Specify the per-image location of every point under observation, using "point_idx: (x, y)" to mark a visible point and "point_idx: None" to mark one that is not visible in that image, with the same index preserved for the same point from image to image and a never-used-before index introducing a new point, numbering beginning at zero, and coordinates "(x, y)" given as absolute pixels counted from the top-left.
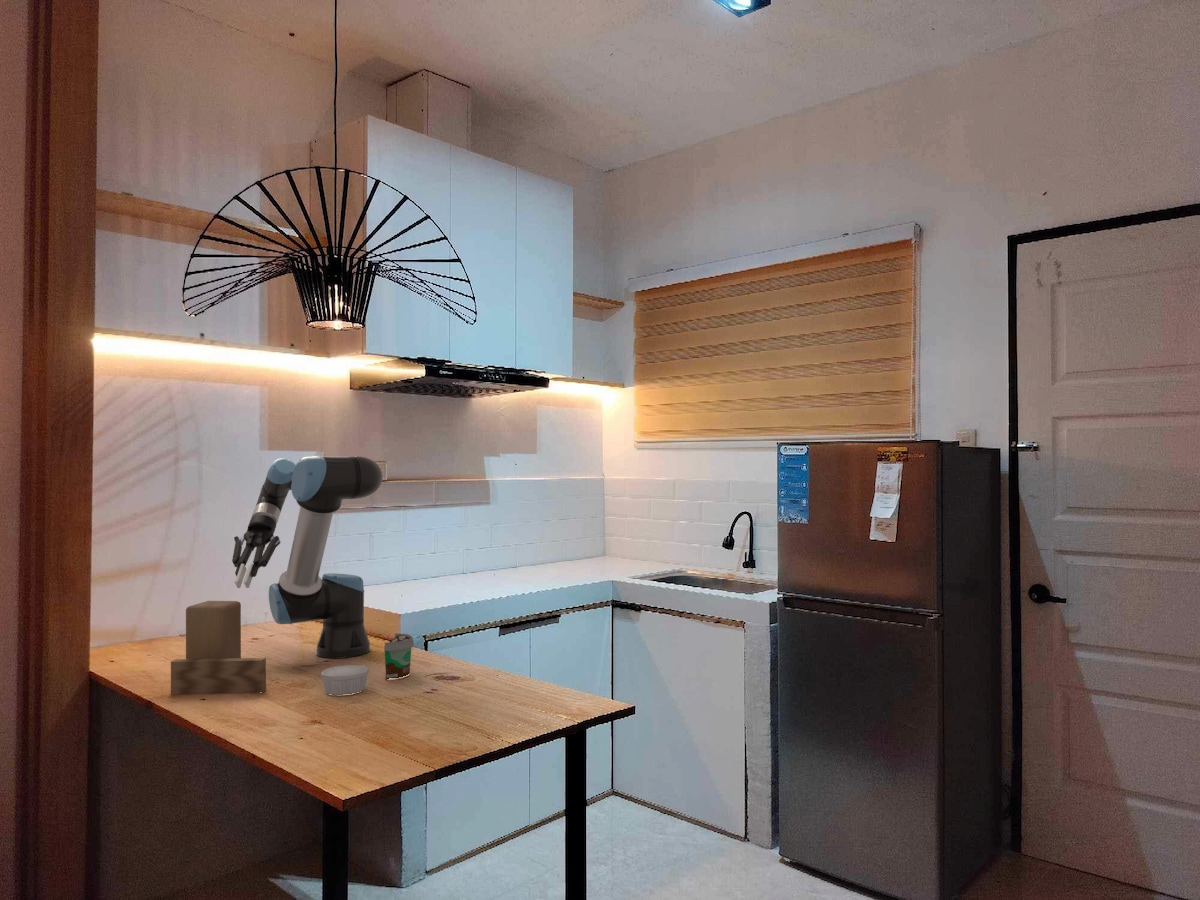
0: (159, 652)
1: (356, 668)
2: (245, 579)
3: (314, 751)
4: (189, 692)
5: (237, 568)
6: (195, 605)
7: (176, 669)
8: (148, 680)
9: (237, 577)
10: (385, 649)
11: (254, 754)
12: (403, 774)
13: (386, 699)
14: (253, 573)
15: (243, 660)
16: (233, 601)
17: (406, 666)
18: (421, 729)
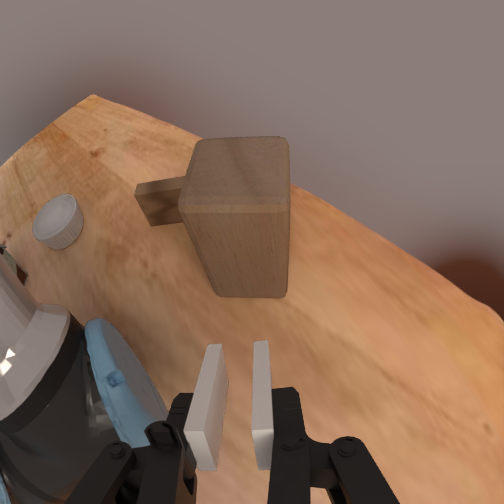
0: (482, 450)
1: (42, 224)
2: (214, 353)
3: (98, 119)
4: None
5: (295, 415)
6: (270, 143)
7: None
8: (370, 265)
9: (262, 357)
10: (4, 246)
11: (132, 108)
12: (65, 114)
13: None
14: (180, 394)
15: (163, 180)
16: (192, 191)
17: None
18: (38, 159)
